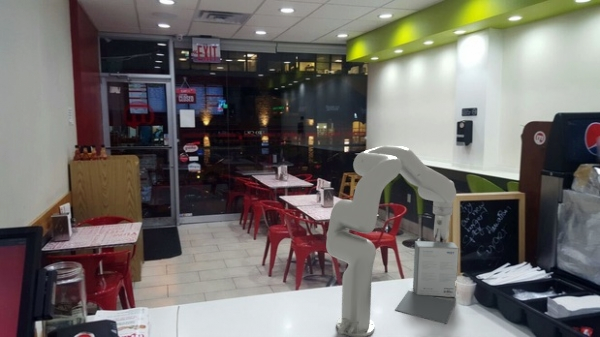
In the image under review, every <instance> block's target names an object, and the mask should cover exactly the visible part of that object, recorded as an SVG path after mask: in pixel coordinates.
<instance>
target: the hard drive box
mask: <svg viewBox="0 0 600 337" xmlns="http://www.w3.org/2000/svg"><path fill="white" fill-rule="evenodd" d="M459 249H460V248H459V247H458V246H457V244H456V243H454V242H452V241H451V242H450V241H445V242H440V243H438V242H436V241H424V240H421V241H419V240H415V241H414V257H413V258H414V259H413V276H412V278H413V281H412V284H413V285H412V288H413V292H415V293H416V295H429V296H434V297H447V298H448V297H450V298H455V297H457V285H456V286H455V281H456V280H458V265H459V251H460V250H459Z"/></svg>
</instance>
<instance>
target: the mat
mask: <svg viewBox="0 0 600 337" xmlns="http://www.w3.org/2000/svg"><path fill="white" fill-rule="evenodd" d="M455 304H456V301H454V300H449V299H446V298H441V297H439V296H432V295H416V293H415V291H414V290H407V292H406V293H405V295H404V296H403V298H402V299H401V300H400V302H399V303H398V304H397V306H396V308H395V309H394V311H396V312H400V313H404V314H407V315H411V316H415V317H419V318H422V319H426V320H429V321H433V322H437V323H441V324H444V325H447V324H448V321H449V318H450V315H451V314H452V311H453V309H454V308H455Z"/></svg>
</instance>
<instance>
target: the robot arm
mask: <svg viewBox="0 0 600 337" xmlns="http://www.w3.org/2000/svg"><path fill="white" fill-rule="evenodd" d="M353 160H354V161H353V164H352V166H353V170H354V172H355V173H356V174H357V175H358V176H361V178H360V179H359V181H358V182H357V183H356V185H355V188H354V193H353V197H352V198H353V199H352V200H350V199H340V200H338V201H337V202H336V203H335V204H334V205H333V207H332V209H331V212H330V216H329V223H328V228H327V236H326V241H325V243H326V244H325V245H326V246H325V248H326V251H327V253H328V254H329V256H331V257H333V258H335V259H337V260H340V261H342V262H345V263H347V265H348V266H347V267H346V269H345V270H344V272H343V274H342V284H341V285H342V286H341V287H342V288H341V292H342V293H341V317H340V318H338V319H337V322H336V327H337V331H338V333H339V334H340V335H346V336H349V337H367V336H368V337H369V336H370V335H372V334H373V333H374V331H375V323H374V321H372V319H371V304H372V302H371V301H372V278H373V267H374V263H375V259H376V253H377V249H376V246H375V244H374V243H373V242H372V241H371V240H370V239H368V238H366V237H363V236H360V235H358V234H355V233H354V234H353V233H351V232H350V231H354V232H358V233H360V234H370V233H372V232H373V231H374V229H375V227H376V224H377V220H378V219H377V218H378V213H379V207H380V201H381V196H382V193H383V190H384V189H385V187H386V186H387V185H388V184H389V183H391V181H393V180H394V179H395V178H397V177H398V175H399V174H400V175H401V176H402V177H403V178H404V179H405V180H406V181H407V182H408V183H410V184H411V185H413V186H415V187H417V193H418V196H419V197H420V198H421V199H423V200H426V201H427V200H428V201H432V202H433V203H432V204H433V205H432V213H433V214H434V215H435V216H434V225H433V238H435V239H436V241H435V242H438V243H440V242H446V240H447V239H448V238H449V237H450V235H449V221H450V222H451V216H452V215H453V210H454V209H453V206H454V201H455V200H456V197H457V190H456V187H455V183H454V181H452V180H451V179H449V178H448V177H447V176H445V175H444V174H442V173H440V172H438V171H436V170H434V169H432V168H430V167H428V166H427V165H426V164H425V163H423V162H422V160H421V159H420V158H419V157H418V156H417V155H416V153H414V151H413V150H411V149H410V148H408V147H405V146H398V145H380V146H377V147H374V148H371V149H367V150H365V151H361V152H360V153H358V154H357V155H356V156H355V158H354V159H353Z"/></svg>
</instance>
